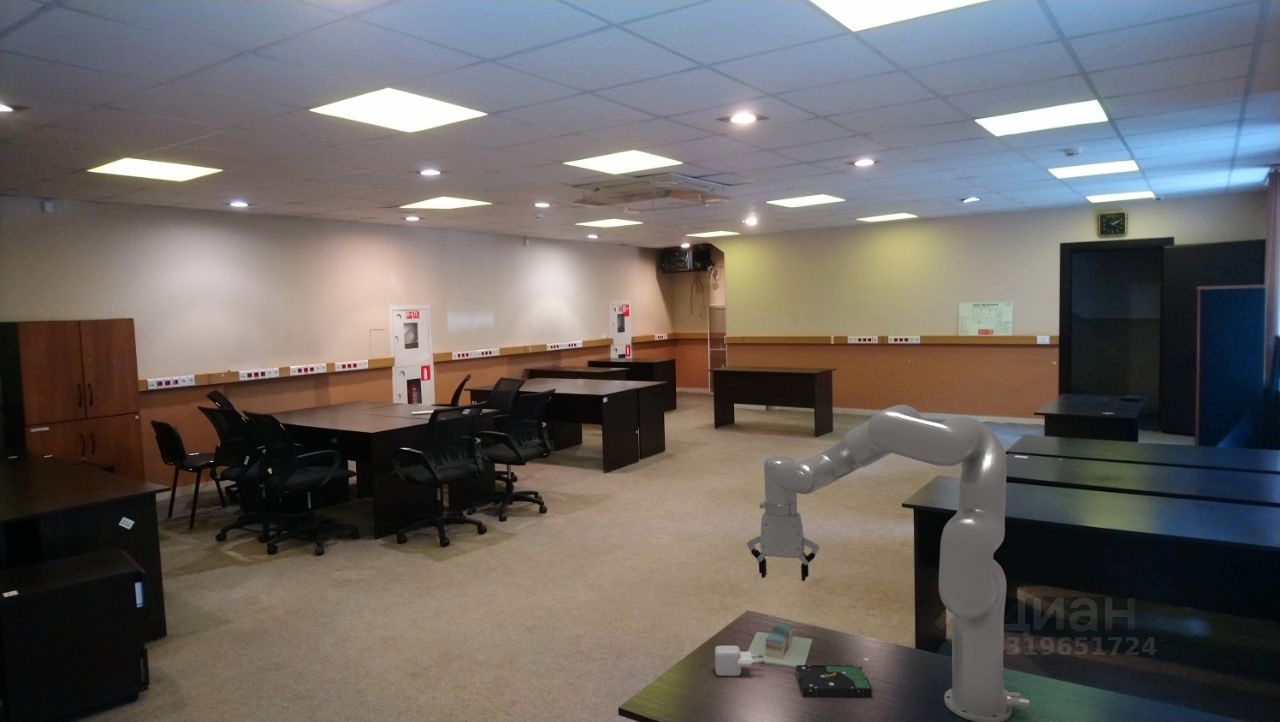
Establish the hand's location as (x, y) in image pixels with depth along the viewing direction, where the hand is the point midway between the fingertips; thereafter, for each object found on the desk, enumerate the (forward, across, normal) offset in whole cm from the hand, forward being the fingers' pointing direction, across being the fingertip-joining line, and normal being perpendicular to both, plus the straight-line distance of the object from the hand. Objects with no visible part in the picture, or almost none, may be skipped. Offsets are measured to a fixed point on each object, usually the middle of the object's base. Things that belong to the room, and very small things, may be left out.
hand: (783, 577), depth 176 cm
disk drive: (+19, +12, -14) cm, 27 cm away
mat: (+18, -2, -1) cm, 18 cm away
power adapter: (+18, -8, -15) cm, 25 cm away
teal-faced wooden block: (+17, -2, -1) cm, 17 cm away
